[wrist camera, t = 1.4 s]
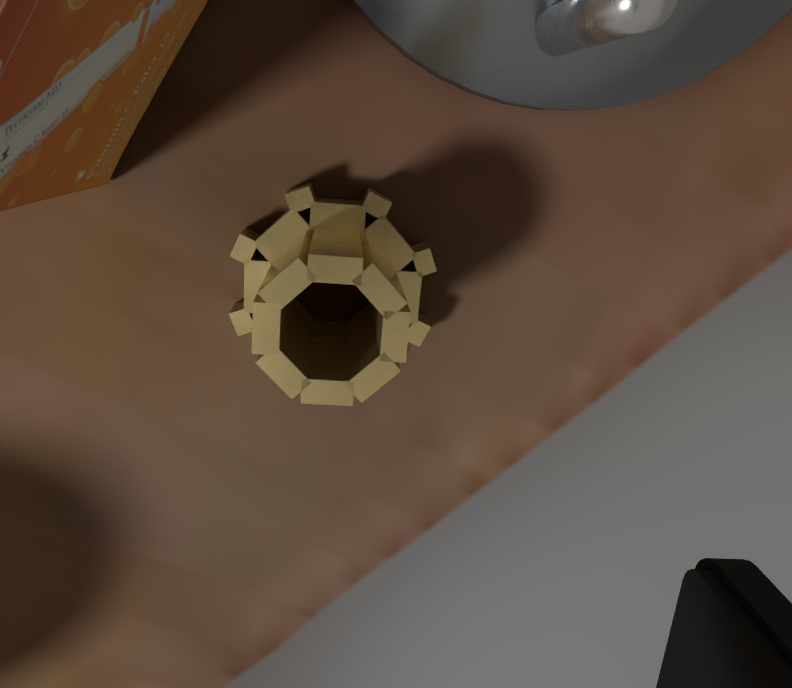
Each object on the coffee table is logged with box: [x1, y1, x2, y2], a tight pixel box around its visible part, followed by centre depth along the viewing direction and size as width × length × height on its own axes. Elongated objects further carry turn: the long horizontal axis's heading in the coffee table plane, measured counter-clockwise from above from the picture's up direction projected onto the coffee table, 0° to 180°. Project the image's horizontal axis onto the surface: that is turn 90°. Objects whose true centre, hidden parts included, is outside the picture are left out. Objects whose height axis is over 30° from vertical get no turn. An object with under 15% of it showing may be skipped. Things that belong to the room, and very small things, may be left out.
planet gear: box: [229, 183, 437, 406], centre depth 23 cm, size 8×8×6 cm
